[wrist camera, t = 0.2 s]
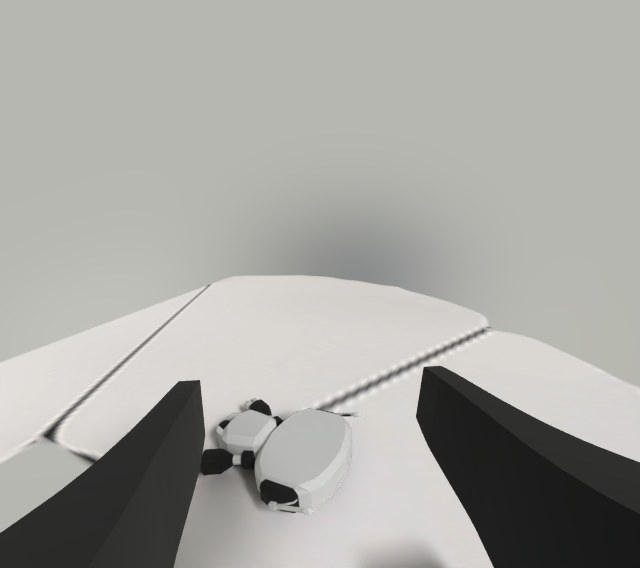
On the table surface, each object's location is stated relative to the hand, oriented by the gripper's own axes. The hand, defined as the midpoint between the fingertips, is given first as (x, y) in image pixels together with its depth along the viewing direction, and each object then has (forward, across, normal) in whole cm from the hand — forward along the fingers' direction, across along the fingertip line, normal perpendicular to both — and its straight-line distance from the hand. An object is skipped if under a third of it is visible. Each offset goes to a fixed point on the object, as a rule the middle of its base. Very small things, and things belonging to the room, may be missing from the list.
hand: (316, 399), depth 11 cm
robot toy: (+18, +1, +22) cm, 29 cm away
